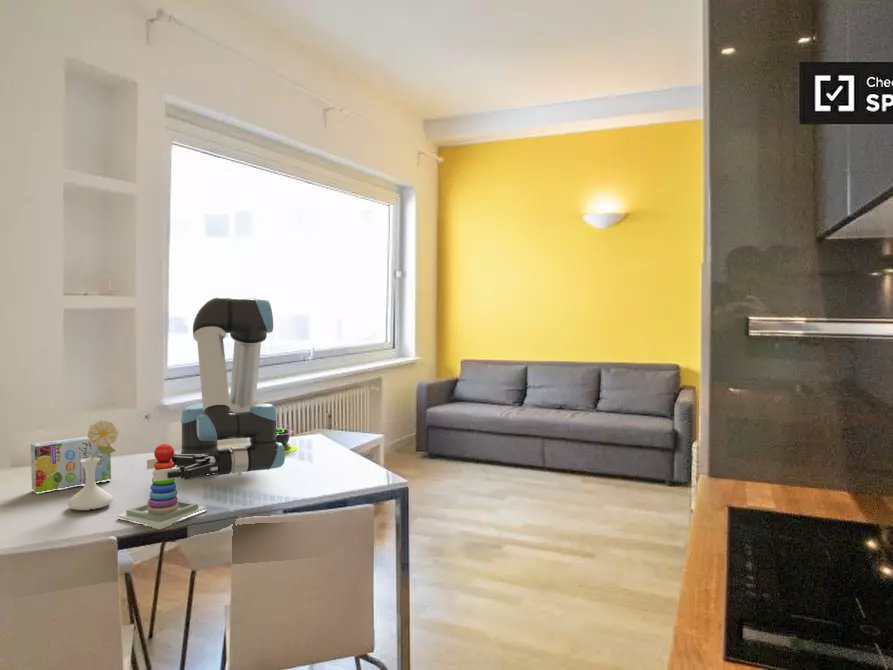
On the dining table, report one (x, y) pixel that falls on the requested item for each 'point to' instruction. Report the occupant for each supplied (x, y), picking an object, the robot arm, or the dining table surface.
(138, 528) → the dining table surface
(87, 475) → the flower in vase
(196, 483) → the dining table surface
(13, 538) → the dining table surface
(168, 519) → the base plate
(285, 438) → the toy cauldron
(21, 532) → the dining table surface
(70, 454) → the snack box
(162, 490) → the stacking toy
